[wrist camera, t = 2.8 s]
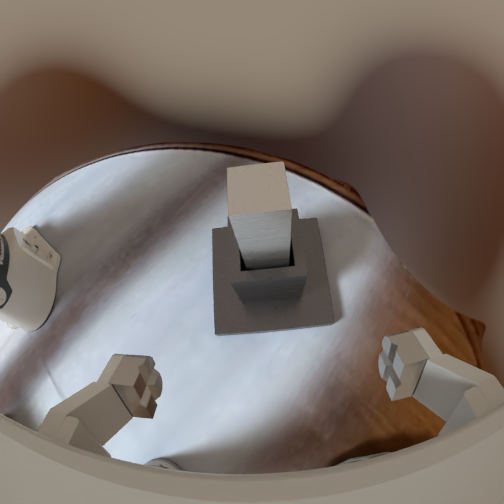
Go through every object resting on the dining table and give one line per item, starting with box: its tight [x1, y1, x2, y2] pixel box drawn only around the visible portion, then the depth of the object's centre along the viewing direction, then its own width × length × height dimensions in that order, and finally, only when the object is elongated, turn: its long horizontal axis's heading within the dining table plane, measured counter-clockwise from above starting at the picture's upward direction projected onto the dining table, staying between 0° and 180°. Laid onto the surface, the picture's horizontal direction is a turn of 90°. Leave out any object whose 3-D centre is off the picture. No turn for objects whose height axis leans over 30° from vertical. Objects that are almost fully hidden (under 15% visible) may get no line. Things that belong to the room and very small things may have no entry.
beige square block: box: [227, 162, 292, 271], centre depth 26 cm, size 4×4×17 cm
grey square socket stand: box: [212, 209, 334, 336], centre depth 31 cm, size 14×14×11 cm
